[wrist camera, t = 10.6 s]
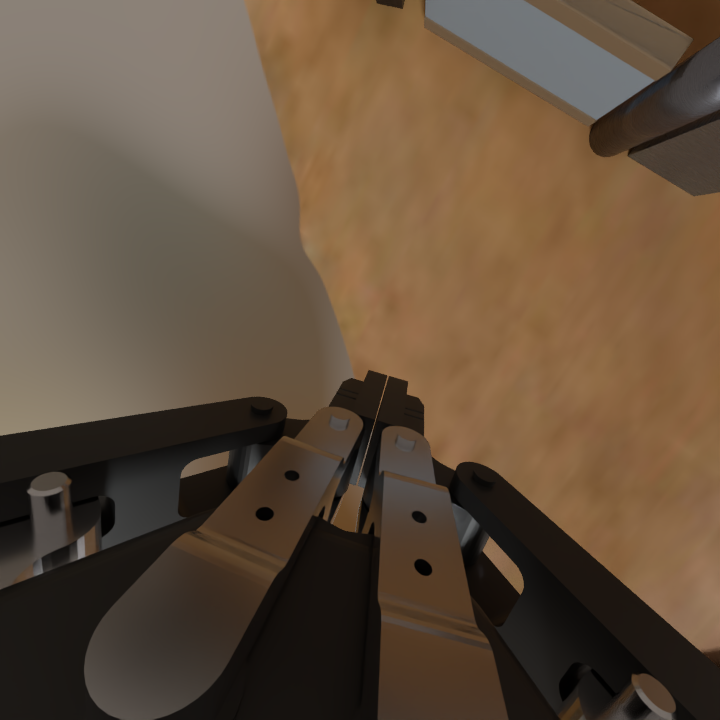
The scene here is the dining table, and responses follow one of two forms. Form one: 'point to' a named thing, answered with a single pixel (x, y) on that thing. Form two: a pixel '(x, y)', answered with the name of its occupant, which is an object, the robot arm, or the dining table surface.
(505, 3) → the gate
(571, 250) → the dining table surface
